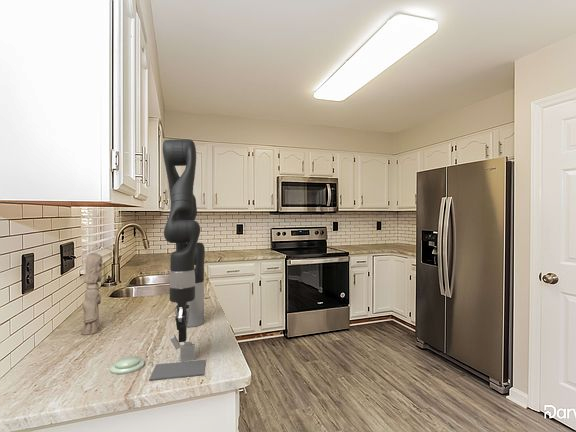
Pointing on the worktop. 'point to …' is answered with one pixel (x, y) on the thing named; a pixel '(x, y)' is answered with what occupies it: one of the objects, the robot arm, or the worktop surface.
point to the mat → (178, 370)
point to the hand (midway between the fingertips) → (182, 341)
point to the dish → (127, 365)
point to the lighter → (184, 349)
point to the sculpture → (92, 294)
